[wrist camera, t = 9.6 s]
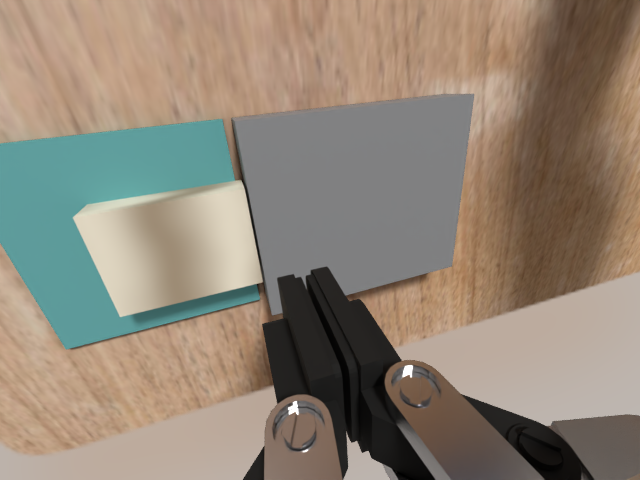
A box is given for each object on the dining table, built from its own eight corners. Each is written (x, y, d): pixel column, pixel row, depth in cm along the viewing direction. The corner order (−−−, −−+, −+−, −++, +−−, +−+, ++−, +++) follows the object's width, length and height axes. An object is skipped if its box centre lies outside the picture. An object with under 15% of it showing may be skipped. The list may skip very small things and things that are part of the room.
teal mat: (221, 118, 17) (222, 119, 17) (259, 296, 22) (260, 299, 22) (-51, 149, 14) (-57, 150, 14) (68, 344, 19) (66, 349, 19)
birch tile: (241, 179, 18) (244, 188, 16) (258, 266, 21) (262, 282, 19) (87, 204, 16) (72, 217, 14) (128, 296, 19) (120, 317, 17)
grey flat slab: (446, 93, 20) (474, 93, 18) (431, 251, 26) (451, 266, 24) (231, 117, 17) (234, 121, 15) (265, 294, 22) (272, 315, 20)
